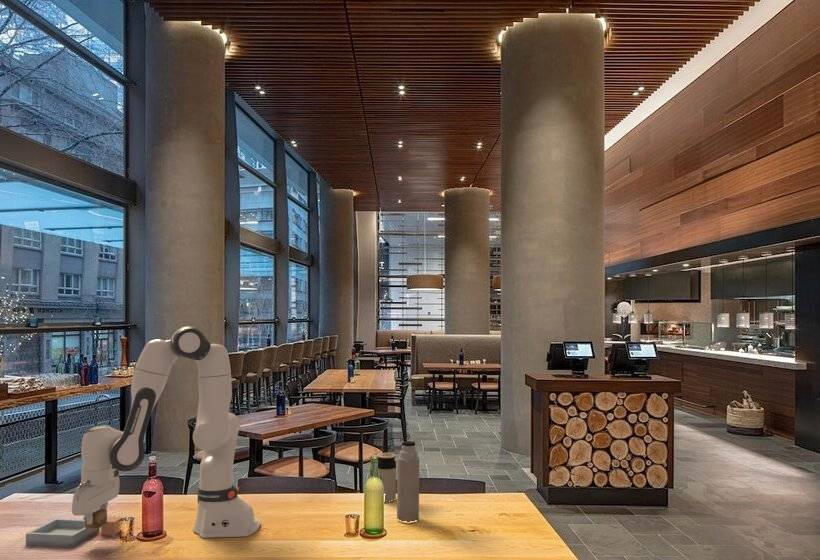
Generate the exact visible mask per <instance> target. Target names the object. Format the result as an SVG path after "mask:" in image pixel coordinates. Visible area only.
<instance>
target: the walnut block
mask: <svg viewBox="0 0 820 560" xmlns="http://www.w3.org/2000/svg"><path fill="white" fill-rule="evenodd" d="M92 516H93V517H95V522H94V523H92V524H87V519H86V517H85V518H84V520H85V528H99V529H100V528H101V527H102V526H104V525H105V524H107V518H108V509H94V510H93V513H92Z"/></svg>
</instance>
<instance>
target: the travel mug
mask: <svg viewBox="0 0 820 560" xmlns="http://www.w3.org/2000/svg"><path fill="white" fill-rule="evenodd" d="M395 459H396V454H395V453H392V452H380V453H378V454H377V461H378V473H379V477H380V479H381V480H382V482H383V485H384V490H385V494H386V495H385V502H389V501H391V500H394V499H395V498H396V499H397V462H396V460H395Z"/></svg>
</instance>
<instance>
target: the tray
mask: <svg viewBox="0 0 820 560" xmlns="http://www.w3.org/2000/svg"><path fill="white" fill-rule="evenodd" d="M99 531H100V528H85V519H71V518H54V519H52V520H50V521H48V522H46V523H45V524H42V525H39V527H36V528H34V529H32V530H31V531H28V532H26V533H25V545H26V546H48V547H69V548H74V547H75V546H76V545H78V544H80V543H82V542H83V541H85V540H87V539H88V538H90V537H91V536H93V535H95V534H96V533H98V532H99Z"/></svg>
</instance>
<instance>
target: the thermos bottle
mask: <svg viewBox="0 0 820 560" xmlns="http://www.w3.org/2000/svg"><path fill="white" fill-rule="evenodd" d="M401 445H402V446H401V450H400V451H399V454H398V455H399V456H397V462H396V520H397V519H399V520H401V521H407V522H410V521H415V520H418V519H420V515H419V514H420V457H419V456H418V454H419V453H418V451H417V450H416V446H415V445H416V442H415V441H412V440H411V441H410V440H409V441H406V440H405V441H403V442H402V443H401Z"/></svg>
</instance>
